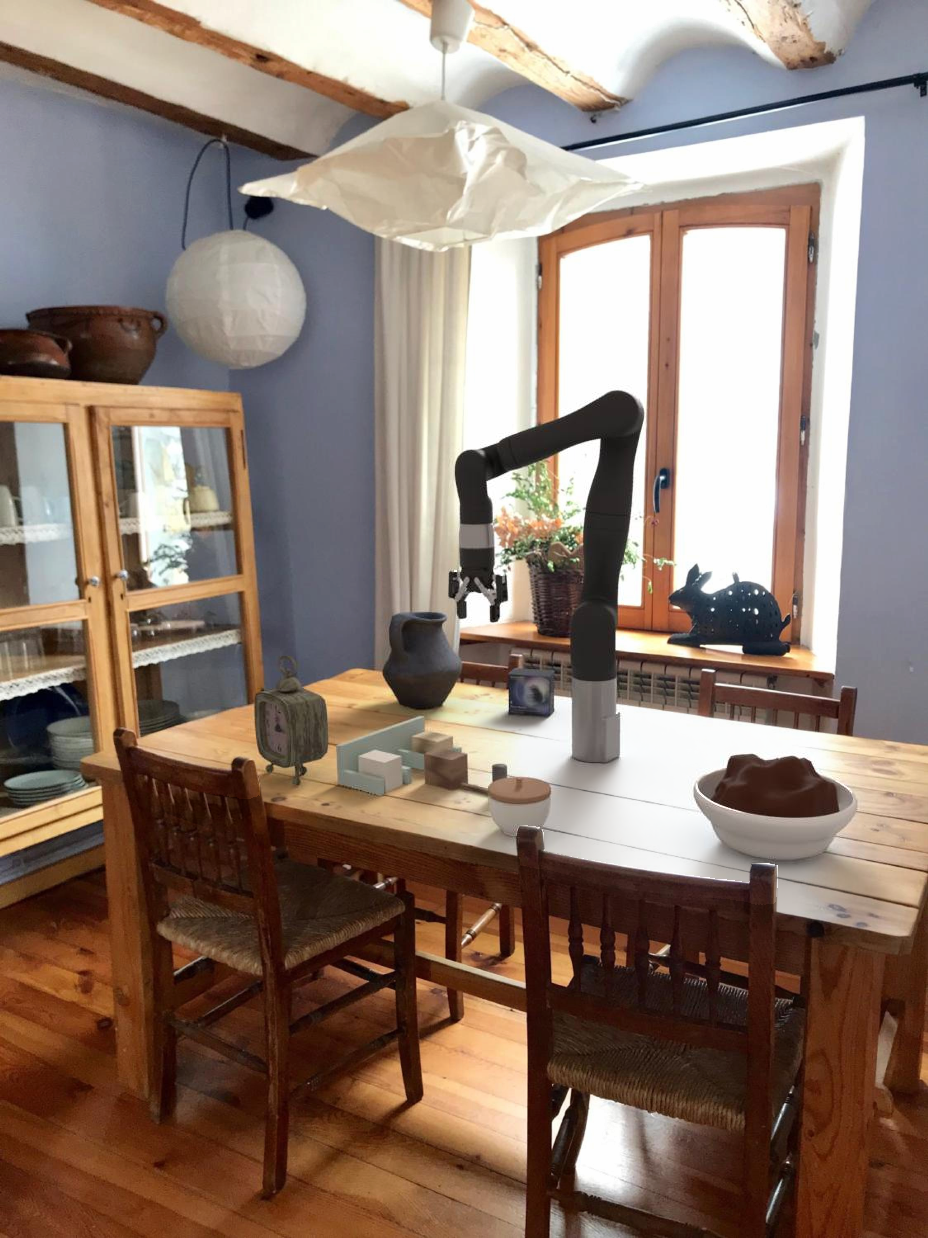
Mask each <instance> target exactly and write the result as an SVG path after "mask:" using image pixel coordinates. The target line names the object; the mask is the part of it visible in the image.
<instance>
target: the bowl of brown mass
mask: <svg viewBox="0 0 928 1238" xmlns="http://www.w3.org/2000/svg"><path fill="white" fill-rule="evenodd" d="M726 764H727V765H726V767H724V768H720V769H719V768H718V769H715V770H712V771H709V772H707V773H705V774H703V775H702V776H700V777H699V778H698V779H697V780H696V781H695V783H694V785H693V789H692V791H693V794H692V795H693V798H694V801H695V803H696V805H697V807H698V809H699V810H700V811H701V813H702V814H703V815H704V816H705V817H706V819H707V820H708V821H709V822H710V824H711V826H712V829H713V831H714V833H715V835H716V837H717V839H719V841H720V842H721V843H723V844H724V845H726V846H728V847H729V848H731V849H733V850H735V851H737V852H739V853H741V854H745V855H747V856H751V857H752V856H753V857H756V858H761V859H767V860H780V861H781V860H782V861H794V860H802V859H808V858H812V857H815V856H817V855H820V854H822V853H824V852H825V851H826V850H828V848H830V846H831V844H832V843H833V842H834V839H835V837H836V835H837V834H838V833H840V832H841V831H842V830H844V829H845V828H846V827H847V826H848V824H849V823H850V822H851V821H852V820H853V818H854V817H855V815H856V813H857V810H858V800H857V797H856V794H855V793H854V791H852V790H851V789H850V788H849V787H848V786H846V785H845V784H843V783H842V782H840V781H837V780H836V779H833V778H831V777H828V776H825V775H822V774H819V773H818V772H817V771H816V769H815V767H814V764H813V762H812V761H811V760H809V759H808V758H806V757H801V758H800V757H798V756H796V755H789V756H782V757H776V758H773V759H772V758H771V759H764V758H761V757H759V756H758V755H757V754H754V753H743V754H732V755H731V756H730V757H728V760H727V763H726Z"/></svg>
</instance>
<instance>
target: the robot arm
mask: <svg viewBox="0 0 928 1238" xmlns="http://www.w3.org/2000/svg"><path fill="white" fill-rule="evenodd" d="M644 421H645V409H644V405H643V403H642V401H641V400H640V398H638V397H637V396H636V395H635V394H634V393H632V392H629V391H626V390H623V389H612V390H610V391H607V392H605V393H604V394H603V395H601V396H600V397H598V398H596V399H594V400H592V401H591V402H590V403H587V404H586V405H584V406H582V407H581V408H579V409H577V410H574V411H572V412H569V413H568V414H566V415H564V416H562V417H558V418H556V419H553V420H551V421H547V422H545V423H541V424H539V425H535V426H532V427H529V428H527V429H524V430H521V431H518V432H516V433H513V434H510V435H508V436H506V437H504V438H501V439H500V440H499V442H496V443H492V444H490V445H488V446H484V447H482V448H478V449H466V450H464V451H462V452H461V453H460V454H458V456H457V458H456V460H455V464H454V482H455V487H456V492H457V497H458V499H459V500H458V501H459V532H458V549H459V550H458V553H459V554H458V555H459V556H458V557H459V561H458V562H459V567H460V570H458V569H454V570H450V571H449V572H448V591H447V592H448V595H447V596H448V598H449V599H453V600H454V601H455V603H456V615H457V618H458V619H459V620H464V619H467V618H468V614H467V613H468V611H467V609H468V607H467V606H468V605H467V601H466V599H467V598H468V596H469V595H470V594H471V593H477V594H482V595H483V597H485V598H486V599H487V601H488V602H489V622H490V623H493V624H494V623H498V622H499V620H500V618H501V605H502V603H506V602H508V601H509V592H508V591H509V590H508V578H507V577H508V575H507V573H506V572H505V573H499V574H498V573H497V574H495V572H494V569H495V565H496V558H495V557H496V556H495V551H496V550H495V548H496V547H495V530H494V514H493V513H494V510H493V509H494V507H493V506H494V505H493V500H492V498H491V497H490V496H489V493H488V484H487V483H488V482H489V481H491V480H493V479H496V478H498V477H500V476H502V475H505V474H507V473H509V472H511V471H512V472H513V471H516V470H519V469H522V468H524V467H528V466H530V465H533V464H537V463H539V462H541V461H544V460H547V459H549V458H551V457H553V456H555V455H557V454H559V453H561V452H563V451H565V450H567V449H569V448H571V447H575V446H577V445H580V444H584V443H587V442H591V441H595V440H596V441H597V440H600V441H599V453H598V460H597V466H596V469H595V471H594V474H593V479H592V481H591V485H590V488H589V492H588V493H587V494H588V495H587V499H586V503H585V510H584V519H583V527H582V529H583V530H582V533H583V534H582V554H583V567H584V571H583V581H582V586H581V591H580V594H579V600H578V605H577V607H576V609H575V610H574V612H573V613H572V616H571V619H570V622H569V623H570V626H569V645H570V646H569V649H570V652H569V653H570V657H569V658H570V666H571V756H572V757H573V758H574V759H576V760H577V761H582V762H586V763H588V762H589V763H603V764H607V763H609V762H610V761H612V760H614V759H617V758H619V757H620V756H621V712H620V711H617V689H618V688H617V676H618V675H617V672H618V671H617V670H618V668H617V667H618V666H617V658H616V654H617V651H616V646H617V645H616V639H617V638H616V637H617V636H616V635H617V633H616V632H617V628H618V623H619V583H620V582H619V581H620V574H621V569H622V566H623V561H624V558H625V554H626V550H627V544H628V538H629V534H630V533H629V532H630V526H631V517H632V516H631V515H632V507H633V492H634V472H635V470H634V469H635V460H636V457H637V456H636V454H637V450H638V446H639V441H640V438H641V432H642V428H643V425H644ZM461 582H462V584H461V585H460V583H461ZM494 584H495V585H494Z"/></svg>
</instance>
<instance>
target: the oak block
mask: <svg viewBox="0 0 928 1238" xmlns="http://www.w3.org/2000/svg"><path fill="white" fill-rule="evenodd" d="M453 745H454V736H453V735H449V734H445V733H440V732H439V733H438V732H434V731H429V730H425V732H422V733H420V734H417V735H414V736H412V750H413V752H417V753H421V754H425V753H427V752H430V751H432V750H435V749H437V748H444V749H448V750H453Z"/></svg>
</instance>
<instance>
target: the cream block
mask: <svg viewBox="0 0 928 1238" xmlns="http://www.w3.org/2000/svg"><path fill="white" fill-rule="evenodd" d="M358 764H359V773H362V774H366V775H370V776H374V777H377V778H381V779H384V793H388V792H390V791H392V790H393V791H394V790H395V789H396V788H399V787H402V786H403V783H402V766H403V765H402V756H399V755H395V754H390V753H386V752H382V751H378V750H373V751H371V752H368V753H365V754H363V755H360V756H358Z"/></svg>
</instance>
